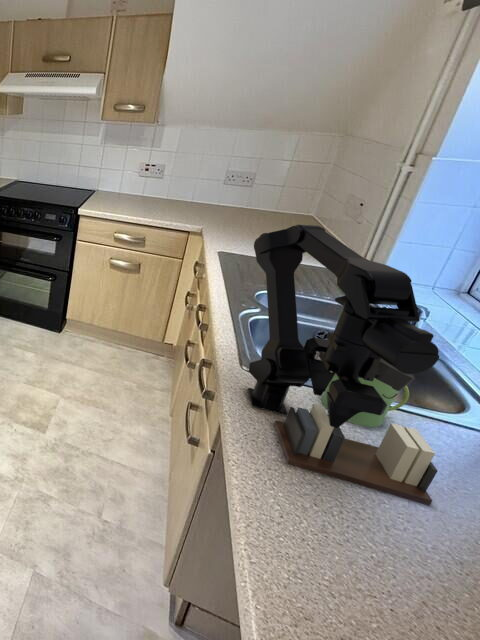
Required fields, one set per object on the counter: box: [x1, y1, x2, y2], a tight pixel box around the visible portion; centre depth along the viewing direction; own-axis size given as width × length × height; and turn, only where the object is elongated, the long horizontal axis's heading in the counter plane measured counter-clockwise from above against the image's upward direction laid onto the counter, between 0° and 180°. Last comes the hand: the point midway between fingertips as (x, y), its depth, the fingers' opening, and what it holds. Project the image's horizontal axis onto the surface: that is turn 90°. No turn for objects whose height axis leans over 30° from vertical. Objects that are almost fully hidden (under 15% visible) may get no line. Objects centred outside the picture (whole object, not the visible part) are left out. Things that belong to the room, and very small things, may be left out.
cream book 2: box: [376, 422, 419, 482], centre depth 74 cm, size 6×2×8 cm, turn 156°
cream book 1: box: [309, 403, 334, 459], centre depth 78 cm, size 6×2×8 cm, turn 156°
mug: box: [321, 374, 410, 428], centre depth 88 cm, size 13×10×12 cm
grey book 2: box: [322, 413, 346, 463], centre depth 78 cm, size 6×2×6 cm, turn 156°
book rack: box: [273, 406, 439, 506], centre depth 77 cm, size 11×20×6 cm, turn 66°
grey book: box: [295, 407, 317, 455], centre depth 79 cm, size 6×2×6 cm, turn 156°
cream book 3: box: [403, 426, 436, 486], centre depth 73 cm, size 6×2×8 cm, turn 156°
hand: (325, 409), depth 76 cm, fingers open, 9 cm apart
